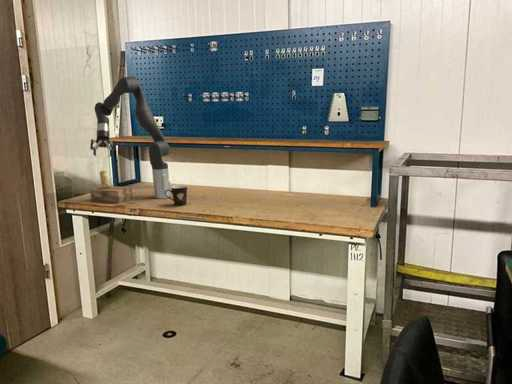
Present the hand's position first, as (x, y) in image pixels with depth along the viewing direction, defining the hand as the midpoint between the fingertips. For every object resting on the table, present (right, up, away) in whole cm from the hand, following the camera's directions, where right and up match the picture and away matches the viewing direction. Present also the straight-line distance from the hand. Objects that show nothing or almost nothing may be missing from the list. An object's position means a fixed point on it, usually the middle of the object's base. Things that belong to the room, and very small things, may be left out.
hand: (102, 155), depth 252 cm
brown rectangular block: (+9, -27, -8) cm, 29 cm away
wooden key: (+4, -24, -7) cm, 25 cm away
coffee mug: (+51, -29, -26) cm, 64 cm away
